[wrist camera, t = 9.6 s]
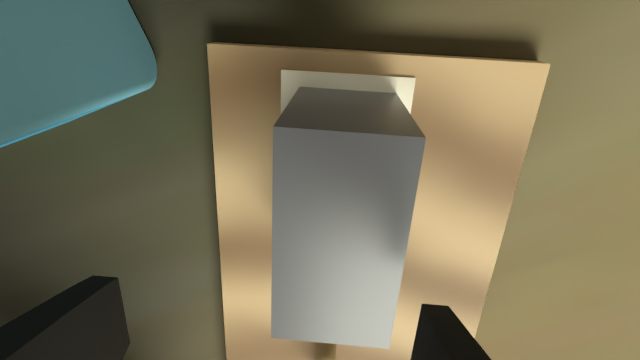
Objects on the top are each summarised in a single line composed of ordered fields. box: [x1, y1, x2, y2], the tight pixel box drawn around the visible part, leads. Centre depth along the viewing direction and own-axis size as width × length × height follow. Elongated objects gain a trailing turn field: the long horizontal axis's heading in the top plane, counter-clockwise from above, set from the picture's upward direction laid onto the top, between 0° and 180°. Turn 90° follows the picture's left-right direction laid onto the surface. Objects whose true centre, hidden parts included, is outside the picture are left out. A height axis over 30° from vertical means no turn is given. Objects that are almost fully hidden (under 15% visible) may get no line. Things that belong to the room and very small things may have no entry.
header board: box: [207, 42, 551, 360], centre depth 18 cm, size 20×13×3 cm, turn 177°
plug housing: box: [271, 87, 426, 349], centre depth 14 cm, size 7×4×6 cm, turn 177°
